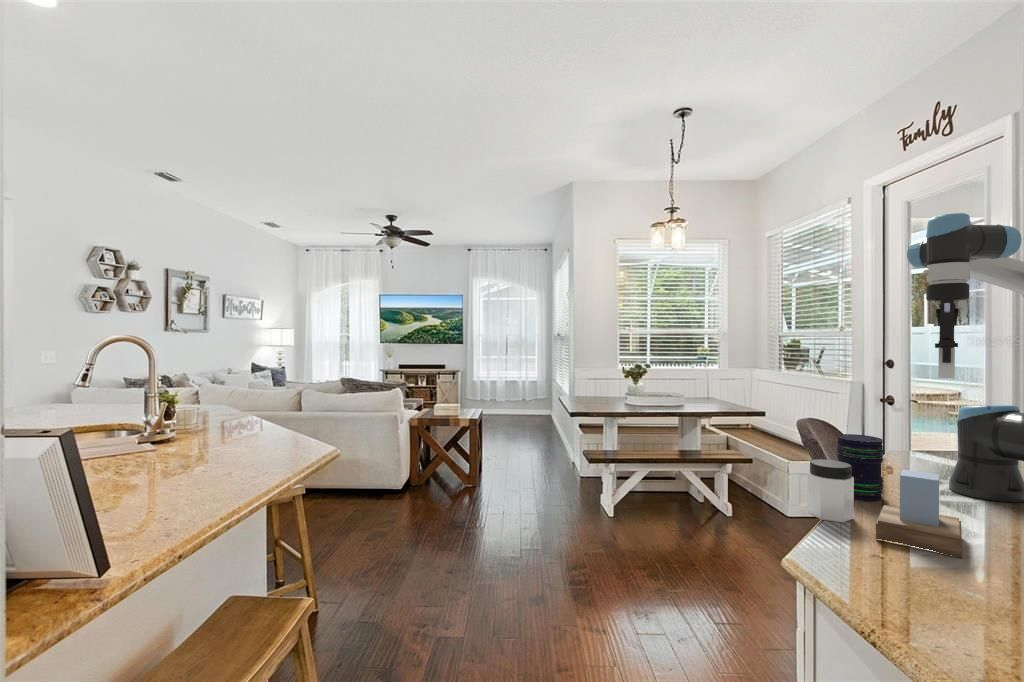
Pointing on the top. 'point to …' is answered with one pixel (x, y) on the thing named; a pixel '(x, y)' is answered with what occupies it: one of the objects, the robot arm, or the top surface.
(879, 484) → the dark blue upright cylinder
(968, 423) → the robot arm
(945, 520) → the base block
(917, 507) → the slate block
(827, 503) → the jar
